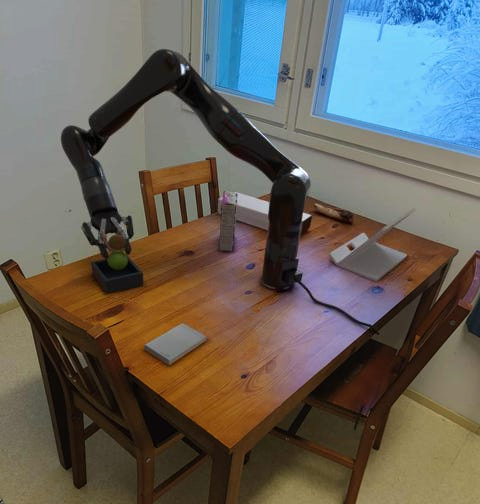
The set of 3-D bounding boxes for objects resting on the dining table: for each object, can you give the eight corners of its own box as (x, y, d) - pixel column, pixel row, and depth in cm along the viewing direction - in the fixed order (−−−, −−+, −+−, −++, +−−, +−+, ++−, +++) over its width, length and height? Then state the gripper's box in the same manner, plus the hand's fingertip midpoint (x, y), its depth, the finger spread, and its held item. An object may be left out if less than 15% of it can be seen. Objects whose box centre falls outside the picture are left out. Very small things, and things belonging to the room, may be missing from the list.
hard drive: (169, 360, 101) (206, 336, 110) (143, 344, 105) (181, 321, 113) (169, 366, 102) (206, 341, 111) (144, 350, 106) (181, 327, 114)
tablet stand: (407, 256, 159) (422, 210, 150) (376, 281, 143) (391, 231, 133) (360, 239, 168) (372, 194, 158) (326, 260, 151) (337, 211, 141)
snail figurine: (103, 264, 129) (100, 225, 122) (127, 263, 131) (124, 224, 124) (105, 274, 125) (101, 234, 118) (129, 272, 127) (126, 233, 120)
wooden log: (359, 221, 183) (320, 206, 191) (362, 210, 181) (323, 195, 189) (348, 226, 177) (309, 211, 185) (351, 215, 174) (311, 200, 182)
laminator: (309, 230, 170) (312, 215, 167) (294, 241, 161) (297, 225, 158) (232, 206, 183) (233, 191, 180) (215, 214, 174) (216, 199, 171)
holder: (143, 285, 129) (143, 272, 126) (106, 294, 124) (105, 280, 121) (127, 267, 136) (126, 254, 134) (92, 274, 131) (90, 261, 129)
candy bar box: (220, 236, 159) (223, 190, 150) (234, 237, 159) (238, 191, 150) (218, 250, 150) (221, 202, 141) (233, 252, 150) (237, 204, 141)
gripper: (74, 195, 118) (94, 256, 117) (127, 188, 125) (146, 246, 124) (70, 207, 125) (89, 265, 124) (120, 200, 132) (139, 255, 131)
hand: (117, 255), depth 124 cm, fingers closed on snail figurine, 5 cm apart
